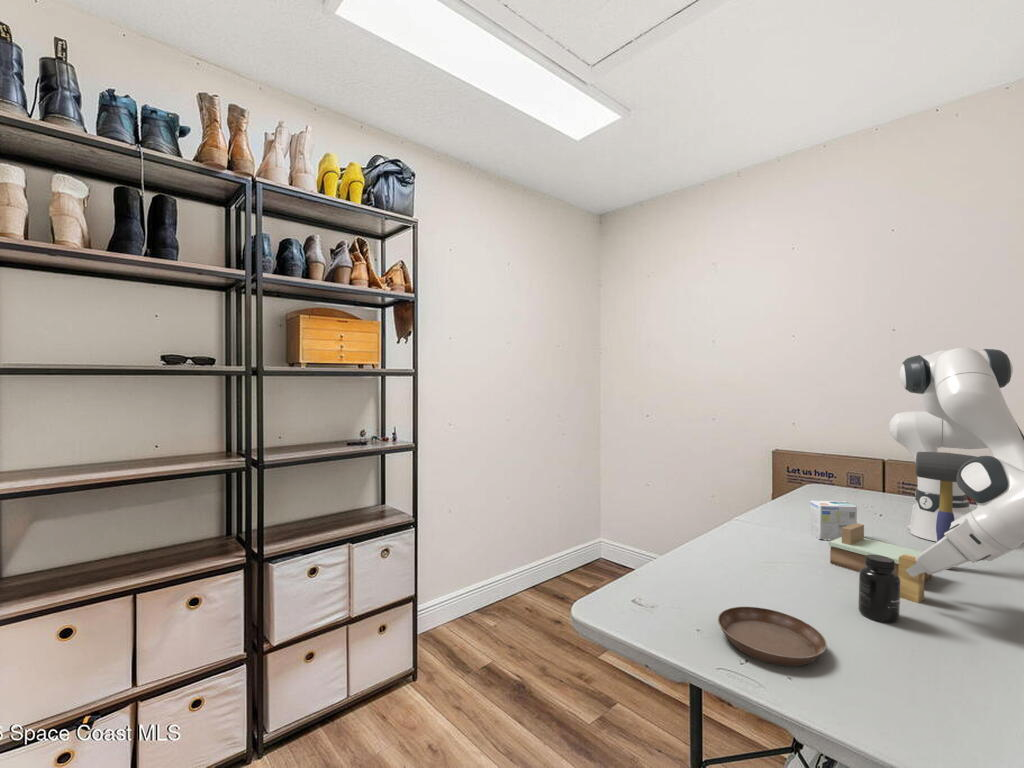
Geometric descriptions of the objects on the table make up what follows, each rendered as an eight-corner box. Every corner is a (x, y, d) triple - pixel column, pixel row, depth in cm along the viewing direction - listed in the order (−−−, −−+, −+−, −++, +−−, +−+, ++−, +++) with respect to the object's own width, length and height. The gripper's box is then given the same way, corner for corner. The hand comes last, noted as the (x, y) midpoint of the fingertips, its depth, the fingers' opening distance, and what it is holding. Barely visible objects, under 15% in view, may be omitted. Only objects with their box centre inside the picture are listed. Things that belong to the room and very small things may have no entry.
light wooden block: (904, 593, 112) (905, 553, 111) (924, 599, 109) (924, 558, 108) (898, 596, 110) (898, 557, 109) (917, 603, 107) (918, 562, 106)
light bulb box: (844, 534, 153) (845, 500, 153) (857, 542, 147) (858, 506, 146) (808, 533, 154) (809, 499, 154) (820, 540, 148) (820, 505, 147)
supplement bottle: (902, 627, 96) (903, 567, 96) (859, 618, 100) (860, 559, 99) (897, 613, 102) (898, 556, 102) (857, 605, 105) (858, 549, 105)
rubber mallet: (977, 569, 125) (979, 453, 125) (978, 578, 120) (980, 457, 120) (914, 557, 134) (916, 448, 133) (912, 565, 128) (914, 451, 128)
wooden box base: (849, 555, 135) (849, 539, 135) (931, 578, 120) (931, 559, 120) (830, 563, 129) (830, 546, 129) (914, 588, 114) (914, 569, 114)
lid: (848, 537, 135) (849, 519, 135) (933, 558, 120) (934, 538, 120) (828, 545, 129) (829, 526, 129) (915, 568, 113) (916, 547, 113)
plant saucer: (834, 643, 91) (834, 626, 91) (815, 687, 77) (815, 668, 77) (734, 612, 102) (734, 597, 102) (703, 646, 89) (703, 630, 89)
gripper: (980, 515, 107) (923, 547, 115) (947, 531, 96) (887, 564, 104) (1008, 542, 103) (947, 572, 112) (977, 560, 92) (912, 592, 100)
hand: (918, 568), depth 108 cm, fingers open, 8 cm apart
